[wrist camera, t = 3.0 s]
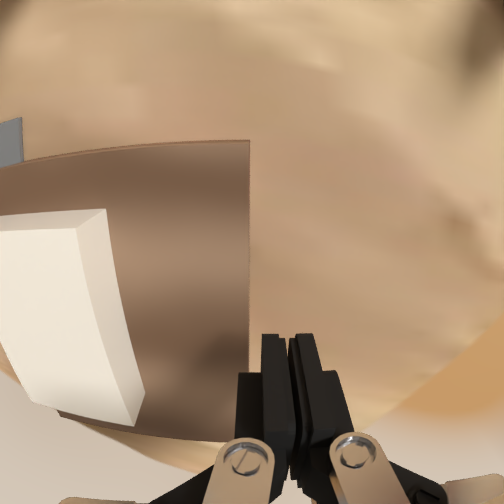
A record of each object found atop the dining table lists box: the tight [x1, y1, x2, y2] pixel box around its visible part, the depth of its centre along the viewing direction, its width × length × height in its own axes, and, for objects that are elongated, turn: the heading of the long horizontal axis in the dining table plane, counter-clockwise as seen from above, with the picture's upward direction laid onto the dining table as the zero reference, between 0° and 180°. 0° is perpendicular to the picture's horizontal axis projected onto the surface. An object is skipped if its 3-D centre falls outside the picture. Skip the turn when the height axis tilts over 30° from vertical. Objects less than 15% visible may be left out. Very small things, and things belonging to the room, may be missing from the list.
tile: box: [0, 209, 145, 426], centre depth 11 cm, size 9×6×2 cm, turn 0°
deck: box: [0, 140, 250, 442], centre depth 14 cm, size 15×12×4 cm
